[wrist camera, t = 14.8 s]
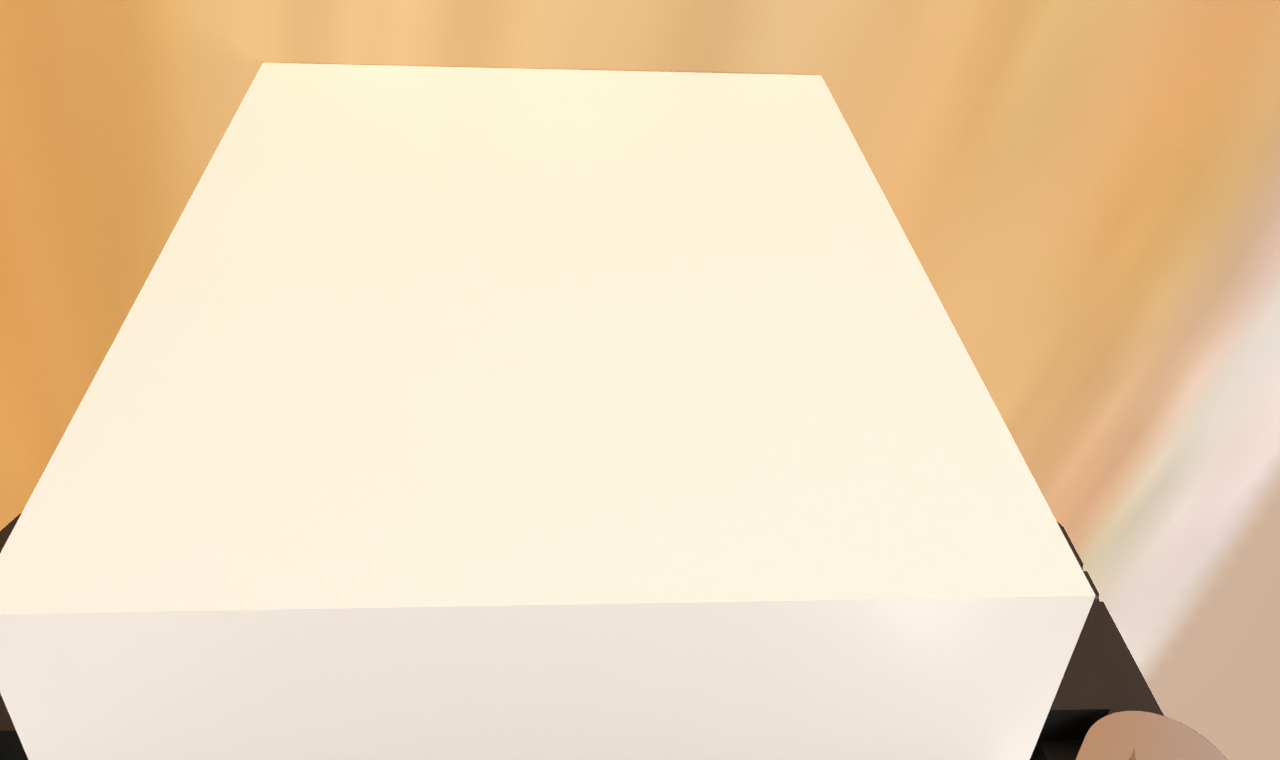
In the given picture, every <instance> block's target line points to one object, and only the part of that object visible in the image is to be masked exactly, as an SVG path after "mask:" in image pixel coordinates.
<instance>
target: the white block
mask: <svg viewBox="0 0 1280 760" xmlns="http://www.w3.org/2000/svg"><path fill="white" fill-rule="evenodd" d="M1095 596H1096V595H1095V593H1094V591H1093V590H1092V588H1091V586H1090V584H1089V582H1088V580H1087V578H1086V576H1085V574H1084V573H1083V571H1082V569H1081V567H1080V565H1079V563H1078V561H1077V559H1076V557H1075V555H1074V554H1073V552H1072V550H1071V548H1070V546H1069V544H1068V542H1067V540H1066V538H1065V537H1064V535H1063V533H1062V531H1061V529H1060V527H1059V525H1058V523H1057V521H1056V519H1055V518H1054V516H1053V514H1052V512H1051V510H1050V508H1049V506H1048V504H1047V502H1046V501H1045V499H1044V497H1043V495H1042V493H1041V491H1040V489H1039V487H1038V485H1037V483H1036V482H1035V480H1034V478H1033V476H1032V474H1031V472H1030V470H1029V468H1028V466H1027V465H1026V463H1025V461H1024V459H1023V457H1022V455H1021V453H1020V451H1019V449H1018V447H1017V446H1016V444H1015V442H1014V440H1013V438H1012V436H1011V434H1010V432H1009V430H1008V429H1007V427H1006V425H1005V423H1004V421H1003V419H1002V417H1001V415H1000V413H999V411H998V410H997V408H996V406H995V404H994V402H993V400H992V398H991V396H990V394H989V393H988V391H987V389H986V387H985V385H984V383H983V381H982V379H981V377H980V375H979V374H978V372H977V370H976V368H975V366H974V364H973V362H972V360H971V358H970V357H969V355H968V353H967V351H966V349H965V347H964V345H963V343H962V341H961V339H960V338H959V336H958V334H957V332H956V330H955V328H954V326H953V324H952V322H951V321H950V319H949V317H948V315H947V313H946V311H945V309H944V307H943V305H942V303H941V302H940V300H939V298H938V296H937V294H936V292H935V290H934V288H933V286H932V285H931V283H930V281H929V279H928V277H927V275H926V273H925V271H924V269H923V267H922V266H921V264H920V262H919V260H918V258H917V256H916V254H915V252H914V250H913V249H912V247H911V245H910V243H909V241H908V239H907V237H906V235H905V233H904V232H903V230H902V228H901V226H900V224H899V222H898V220H897V218H896V216H895V214H894V213H893V211H892V209H891V207H890V205H889V203H888V201H887V199H886V197H885V196H884V194H883V192H882V190H881V188H880V186H879V184H878V182H877V180H876V178H875V177H874V175H873V173H872V171H871V169H870V167H869V165H868V163H867V161H866V160H865V158H864V156H863V154H862V152H861V150H860V148H859V146H858V144H857V142H856V141H855V139H854V137H853V135H852V133H851V131H850V129H849V127H848V125H847V124H846V122H845V120H844V118H843V116H842V114H841V112H840V110H839V108H838V106H837V105H836V103H835V101H834V99H833V97H832V95H831V93H830V91H829V89H828V88H827V86H826V84H825V82H824V80H823V78H822V76H821V75H779V74H735V73H691V72H647V71H603V70H559V69H515V68H471V67H427V66H382V65H338V64H294V63H262V65H261V67H260V69H259V71H258V73H257V75H256V76H255V78H254V80H253V82H252V84H251V86H250V88H249V90H248V91H247V93H246V95H245V97H244V99H243V101H242V103H241V105H240V106H239V108H238V110H237V112H236V114H235V116H234V118H233V119H232V121H231V123H230V125H229V127H228V129H227V131H226V133H225V134H224V136H223V138H222V140H221V142H220V144H219V146H218V147H217V149H216V151H215V153H214V155H213V157H212V159H211V161H210V162H209V164H208V166H207V168H206V170H205V172H204V174H203V176H202V177H201V179H200V181H199V183H198V185H197V187H196V189H195V190H194V192H193V194H192V196H191V198H190V200H189V202H188V204H187V205H186V207H185V209H184V211H183V213H182V215H181V217H180V218H179V220H178V222H177V224H176V226H175V228H174V230H173V232H172V233H171V235H170V237H169V239H168V241H167V243H166V245H165V247H164V248H163V250H162V252H161V254H160V256H159V258H158V260H157V261H156V263H155V265H154V267H153V269H152V271H151V273H150V275H149V276H148V278H147V280H146V282H145V284H144V286H143V288H142V289H141V291H140V293H139V295H138V297H137V299H136V301H135V303H134V304H133V306H132V308H131V310H130V312H129V314H128V316H127V318H126V319H125V321H124V323H123V325H122V327H121V329H120V331H119V332H118V334H117V336H116V338H115V340H114V342H113V344H112V346H111V347H110V349H109V351H108V353H107V355H106V357H105V359H104V360H103V362H102V364H101V366H100V368H99V370H98V372H97V374H96V375H95V377H94V379H93V381H92V383H91V385H90V387H89V389H88V390H87V392H86V394H85V396H84V398H83V400H82V402H81V403H80V405H79V407H78V409H77V411H76V413H75V415H74V417H73V418H72V420H71V422H70V424H69V426H68V428H67V430H66V431H65V433H64V435H63V437H62V439H61V441H60V443H59V445H58V446H57V448H56V450H55V452H54V454H53V456H52V458H51V460H50V461H49V463H48V465H47V467H46V469H45V471H44V473H43V474H42V476H41V478H40V480H39V482H38V484H37V486H36V488H35V489H34V491H33V493H32V495H31V497H30V499H29V501H28V502H27V504H26V506H25V508H24V510H23V512H22V514H21V516H20V517H19V519H18V521H17V523H16V525H15V527H14V529H13V530H12V532H11V534H10V536H9V538H8V540H7V542H6V544H5V545H4V547H3V549H2V551H1V553H0V693H1V696H2V698H3V701H4V703H5V705H6V708H7V710H8V712H9V715H10V717H11V719H12V722H13V724H14V727H15V729H16V731H17V734H18V736H19V738H20V741H21V743H22V746H23V748H24V750H25V753H26V755H27V757H28V760H1030V758H1031V755H1032V753H1033V750H1034V748H1035V745H1036V743H1037V740H1038V738H1039V735H1040V733H1041V730H1042V728H1043V725H1044V723H1045V720H1046V718H1047V715H1048V713H1049V711H1050V708H1051V706H1052V703H1053V701H1054V698H1055V696H1056V693H1057V691H1058V688H1059V686H1060V683H1061V681H1062V678H1063V676H1064V673H1065V671H1066V668H1067V666H1068V663H1069V661H1070V658H1071V656H1072V653H1073V651H1074V648H1075V646H1076V643H1077V641H1078V638H1079V636H1080V633H1081V631H1082V628H1083V626H1084V623H1085V621H1086V618H1087V616H1088V613H1089V611H1090V608H1091V606H1092V603H1093V601H1094V598H1095Z"/></svg>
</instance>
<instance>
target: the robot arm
mask: <svg viewBox="0 0 1280 760" xmlns="http://www.w3.org/2000/svg"><path fill="white" fill-rule="evenodd" d="M21 514H22V513H21ZM21 514H19V515H18V516H17V517H16V518H15V519H14V520H13V521H11V522H10V523H9V524H8V525H7V526H6V527H5V528H3V529H2V530H1V531H0V553H1V551H2V549H3V547H4V545H5V544H6V542H7V540H8V538H9V536H10V534H11V532H12V530H13V529H14V527H15V525H16V523H17V521H18V519H19V517H20V516H21ZM1057 523H1058V522H1057ZM1058 525H1059V527H1060V529H1061V531H1062V533H1063V535H1064V537H1065V538H1066V540H1067V542H1068V544H1069V546H1070V548H1071V550H1072V552H1073V554H1074V555H1075V557H1076V559H1077V561H1078V563H1079V565H1080V567H1081V569H1082V571H1083V563H1082V561H1081V559H1080V557H1079V555H1078V554H1077V552H1076V550H1075V548H1074V546H1073V544H1072V542H1071V540H1070V539H1069V537H1068V535H1067V533H1066V531H1065V529H1064V527H1063V526H1061V525H1060V524H1059V523H1058ZM1083 573H1084V574H1085V576H1086V578H1087V580H1088V582H1089V584H1090V586H1091V588H1092V590H1093V591H1094V593H1095V595H1096V596H1095V598H1094V601H1093V603H1092V606H1091V608H1090V611H1089V613H1088V616H1087V618H1086V621H1085V623H1084V626H1083V628H1082V631H1081V633H1080V636H1079V638H1078V641H1077V643H1076V646H1075V648H1074V651H1073V653H1072V656H1071V658H1070V661H1069V663H1068V666H1067V668H1066V671H1065V673H1064V676H1063V678H1062V681H1061V683H1060V686H1059V688H1058V691H1057V693H1056V696H1055V698H1054V701H1053V703H1052V706H1051V708H1050V711H1049V713H1048V715H1047V718H1046V720H1045V723H1044V725H1043V728H1042V730H1041V733H1040V735H1039V738H1038V740H1037V743H1036V745H1035V748H1034V750H1033V753H1032V755H1031V758H1030V760H1227V758H1226V757H1225V756H1224V755H1223V754H1222V753H1221V752H1220V751H1219V750H1218V749H1217V747H1216V746H1214V745H1213V744H1212V743H1211V742H1210V741H1209V740H1207V739H1206V738H1205V737H1203V736H1202V735H1201V734H1199V733H1198V732H1196V731H1195V730H1193V729H1192V728H1190V727H1188V726H1186V725H1184V724H1182V723H1180V722H1178V721H1176V720H1173V719H1170V718H1168V717H1165V716H1164V715H1163V713H1162V711H1161V710H1160V708H1159V706H1158V704H1157V702H1156V700H1155V698H1154V697H1153V695H1152V693H1151V691H1150V689H1149V687H1148V685H1147V683H1146V681H1145V680H1144V678H1143V676H1142V674H1141V672H1140V670H1139V668H1138V666H1137V665H1136V663H1135V661H1134V659H1133V657H1132V655H1131V653H1130V651H1129V649H1128V648H1127V646H1126V644H1125V642H1124V640H1123V638H1122V636H1121V634H1120V633H1119V631H1118V629H1117V627H1116V625H1115V623H1114V621H1113V619H1112V618H1111V616H1110V614H1109V612H1108V610H1107V608H1106V606H1105V604H1104V602H1100V601H1099V593H1098V591H1097V589H1096V587H1095V586H1094V584H1093V582H1092V580H1091V578H1090V576H1089V574H1088V572H1087V571H1083ZM0 760H28V757H27V755H26V753H25V750H24V748H23V746H22V743H21V741H20V738H19V736H18V734H17V731H16V729H15V727H14V724H13V722H12V719H11V717H10V715H9V712H8V710H7V708H6V705H5V703H4V701H3V698H2V696H1V693H0Z"/></svg>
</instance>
